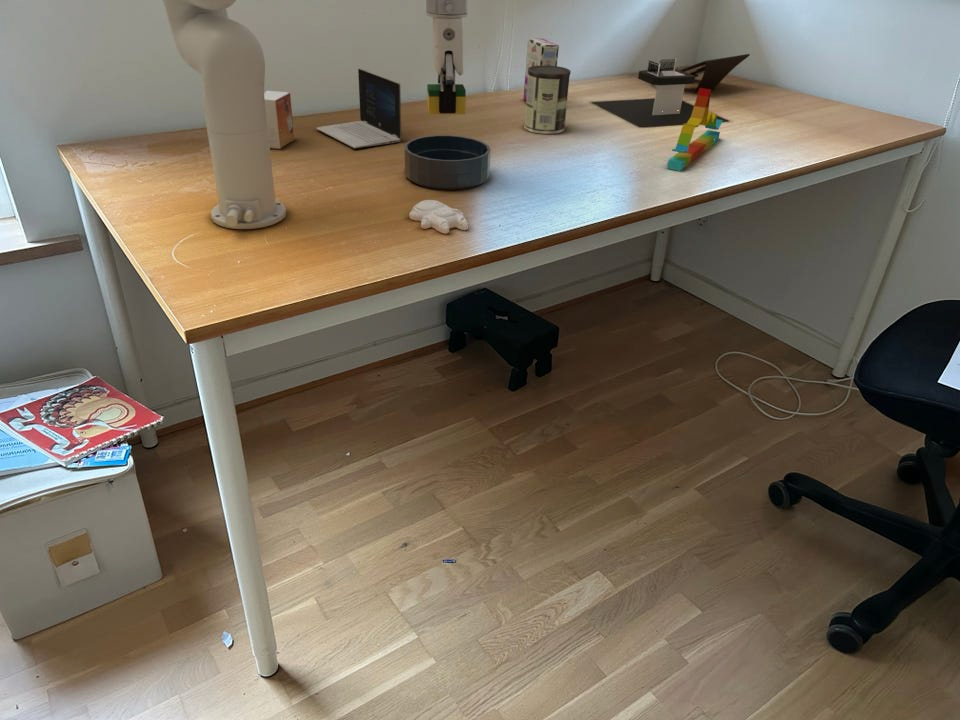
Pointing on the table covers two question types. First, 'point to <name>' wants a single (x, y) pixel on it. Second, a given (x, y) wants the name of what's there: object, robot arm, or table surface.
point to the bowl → (447, 161)
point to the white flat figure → (438, 216)
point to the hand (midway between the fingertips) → (446, 108)
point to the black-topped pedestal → (657, 98)
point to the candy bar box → (540, 56)
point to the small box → (279, 118)
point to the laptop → (372, 114)
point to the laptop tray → (714, 70)
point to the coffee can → (546, 99)
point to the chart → (697, 118)
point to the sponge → (434, 98)
